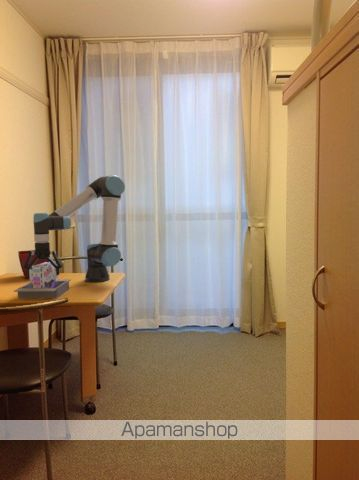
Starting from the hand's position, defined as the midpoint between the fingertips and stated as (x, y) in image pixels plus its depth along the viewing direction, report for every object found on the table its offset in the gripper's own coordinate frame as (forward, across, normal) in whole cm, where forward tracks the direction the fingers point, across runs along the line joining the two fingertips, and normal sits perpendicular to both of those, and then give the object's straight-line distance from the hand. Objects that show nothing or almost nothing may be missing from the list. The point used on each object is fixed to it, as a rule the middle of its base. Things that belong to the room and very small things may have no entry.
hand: (43, 281), depth 201 cm
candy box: (+7, 0, 0) cm, 7 cm away
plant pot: (+7, +25, -48) cm, 55 cm away
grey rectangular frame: (+7, 0, 0) cm, 7 cm away
